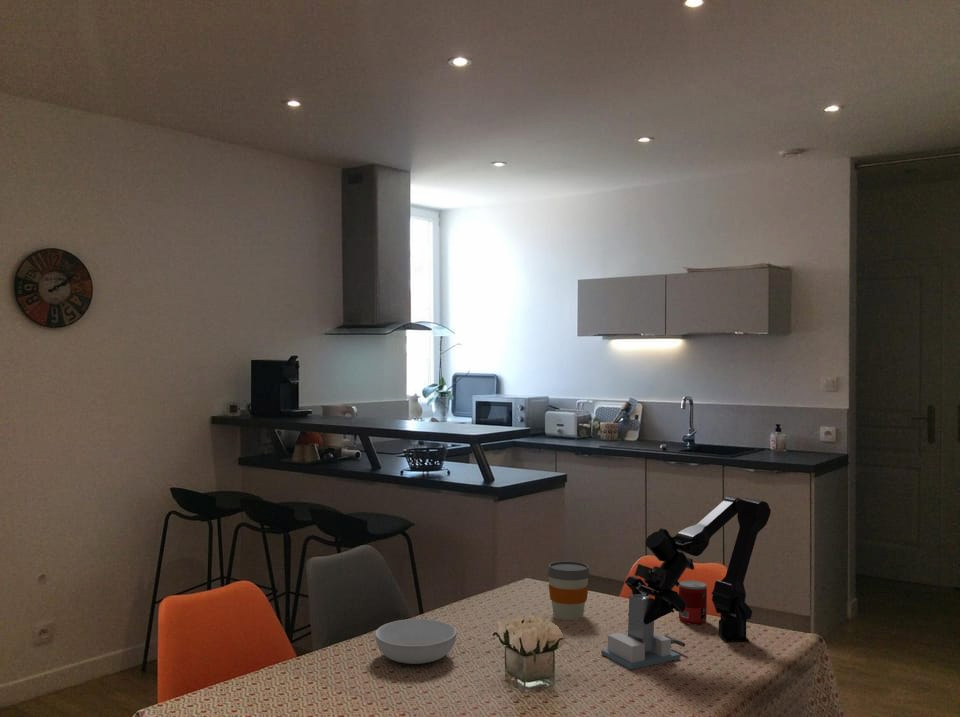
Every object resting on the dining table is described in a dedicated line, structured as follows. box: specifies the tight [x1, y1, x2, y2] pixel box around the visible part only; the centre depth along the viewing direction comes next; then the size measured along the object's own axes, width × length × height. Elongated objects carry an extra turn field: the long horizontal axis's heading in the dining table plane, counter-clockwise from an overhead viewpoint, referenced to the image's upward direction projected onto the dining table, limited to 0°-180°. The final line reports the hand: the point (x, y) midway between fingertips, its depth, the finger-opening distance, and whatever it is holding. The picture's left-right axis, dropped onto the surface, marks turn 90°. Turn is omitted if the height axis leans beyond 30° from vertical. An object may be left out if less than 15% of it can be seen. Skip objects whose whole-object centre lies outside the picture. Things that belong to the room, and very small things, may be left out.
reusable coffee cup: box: [547, 560, 591, 621], centre depth 248 cm, size 13×13×15 cm
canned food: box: [678, 580, 708, 625], centre depth 244 cm, size 8×8×11 cm
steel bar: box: [627, 594, 655, 652], centre depth 213 cm, size 4×6×13 cm, turn 28°
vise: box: [601, 631, 686, 670], centre depth 214 cm, size 20×12×5 cm, turn 118°
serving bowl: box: [374, 618, 458, 665], centre depth 212 cm, size 21×21×7 cm
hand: (637, 619), depth 213 cm, fingers closed on steel bar, 6 cm apart
